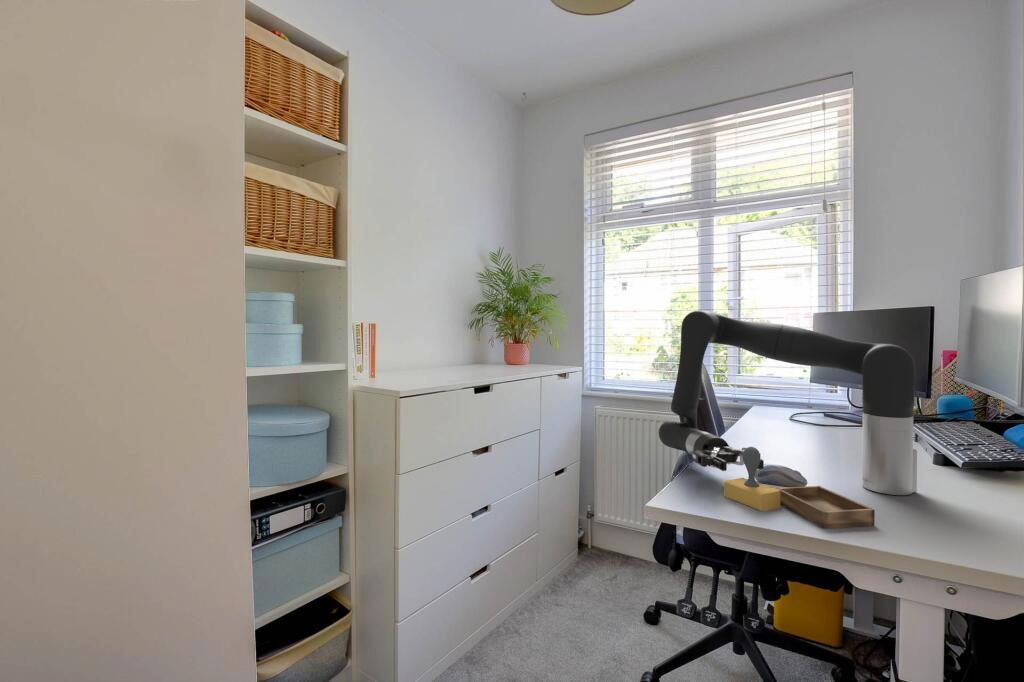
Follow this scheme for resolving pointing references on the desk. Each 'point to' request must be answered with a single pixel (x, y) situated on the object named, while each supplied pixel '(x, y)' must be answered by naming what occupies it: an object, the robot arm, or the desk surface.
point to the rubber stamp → (752, 486)
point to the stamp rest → (826, 507)
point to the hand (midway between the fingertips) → (743, 465)
